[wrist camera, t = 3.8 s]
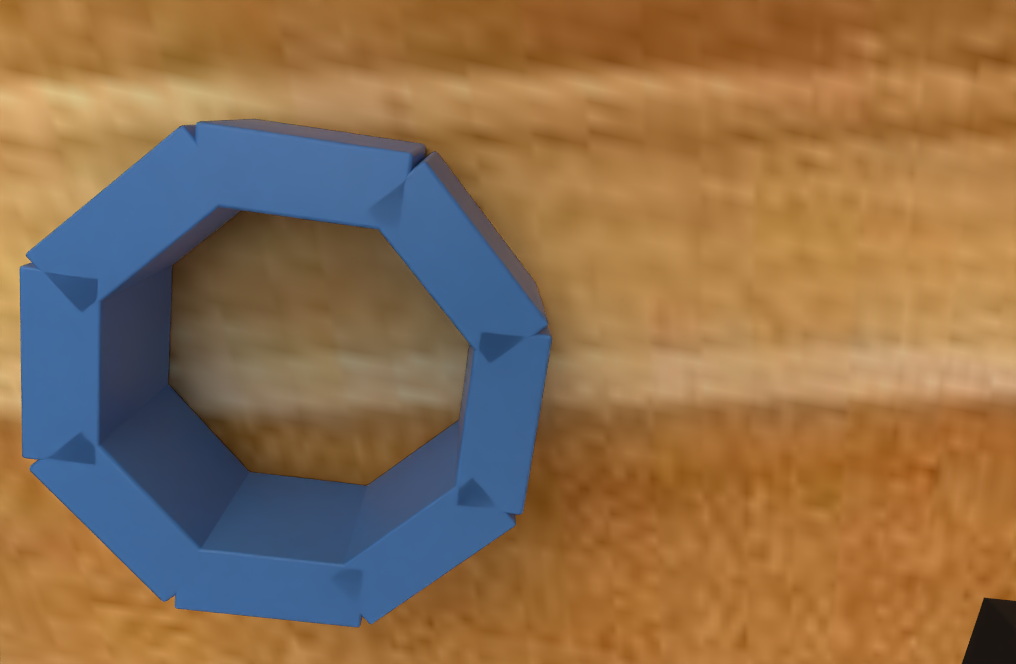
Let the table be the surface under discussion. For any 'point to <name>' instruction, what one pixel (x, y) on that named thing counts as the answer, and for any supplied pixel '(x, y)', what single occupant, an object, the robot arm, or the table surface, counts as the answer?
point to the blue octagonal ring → (196, 449)
